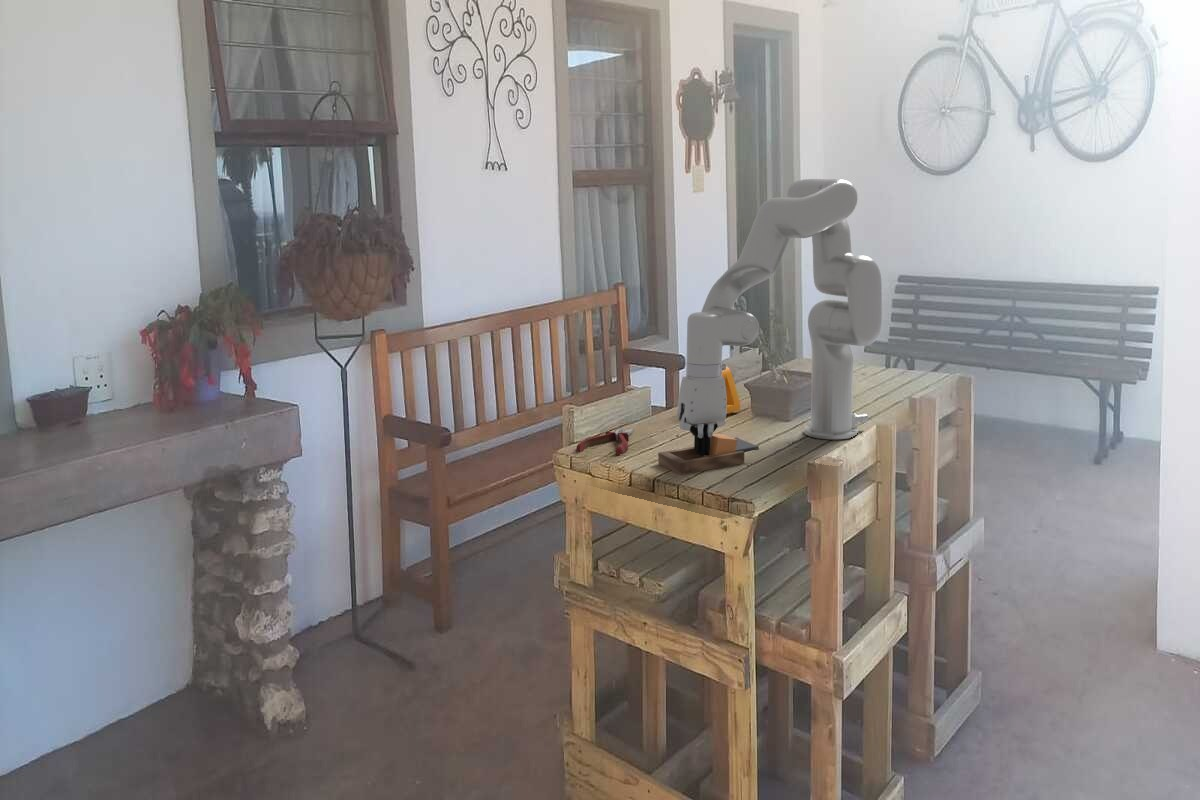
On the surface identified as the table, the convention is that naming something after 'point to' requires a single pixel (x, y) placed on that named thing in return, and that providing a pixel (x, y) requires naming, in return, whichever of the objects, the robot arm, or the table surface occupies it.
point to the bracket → (730, 392)
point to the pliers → (608, 440)
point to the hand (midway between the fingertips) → (701, 454)
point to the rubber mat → (744, 445)
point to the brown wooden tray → (697, 460)
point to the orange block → (721, 444)
